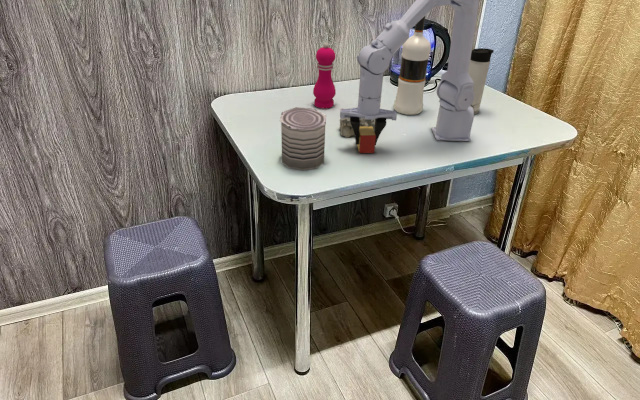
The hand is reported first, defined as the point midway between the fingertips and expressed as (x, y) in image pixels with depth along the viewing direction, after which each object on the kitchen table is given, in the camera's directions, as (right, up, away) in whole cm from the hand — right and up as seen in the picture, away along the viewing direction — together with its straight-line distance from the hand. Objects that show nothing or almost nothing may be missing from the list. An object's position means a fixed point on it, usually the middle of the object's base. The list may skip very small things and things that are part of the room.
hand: (365, 143), depth 127 cm
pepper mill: (-11, +15, +27) cm, 33 cm away
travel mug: (+36, +13, +26) cm, 46 cm away
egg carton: (-1, +4, +10) cm, 11 cm away
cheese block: (0, -1, +1) cm, 2 cm away
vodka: (+16, +13, +25) cm, 32 cm away
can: (-17, -5, -5) cm, 18 cm away
